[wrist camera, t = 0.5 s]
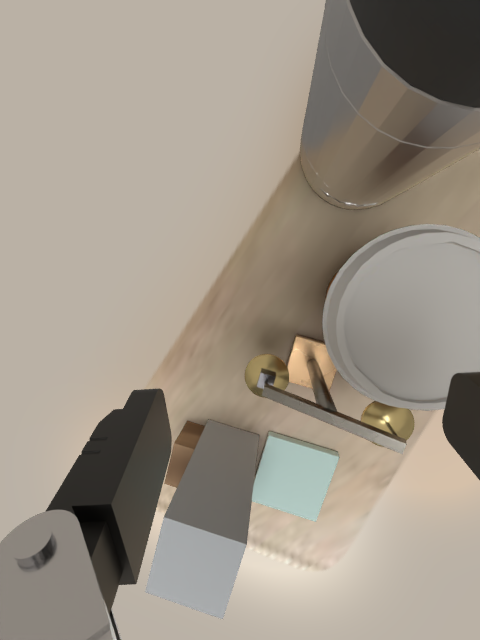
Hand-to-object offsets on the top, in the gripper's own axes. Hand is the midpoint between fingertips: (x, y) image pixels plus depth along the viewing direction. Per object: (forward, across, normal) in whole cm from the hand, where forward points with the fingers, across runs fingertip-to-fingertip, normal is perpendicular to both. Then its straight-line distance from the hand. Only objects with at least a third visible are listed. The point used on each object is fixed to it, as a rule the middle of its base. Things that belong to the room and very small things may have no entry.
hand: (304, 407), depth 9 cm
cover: (+16, +4, +18) cm, 24 cm away
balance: (+17, -4, +9) cm, 20 cm away
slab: (+15, -2, +19) cm, 25 cm away
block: (+17, +7, +17) cm, 25 cm away
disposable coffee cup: (+18, -8, +4) cm, 20 cm away
